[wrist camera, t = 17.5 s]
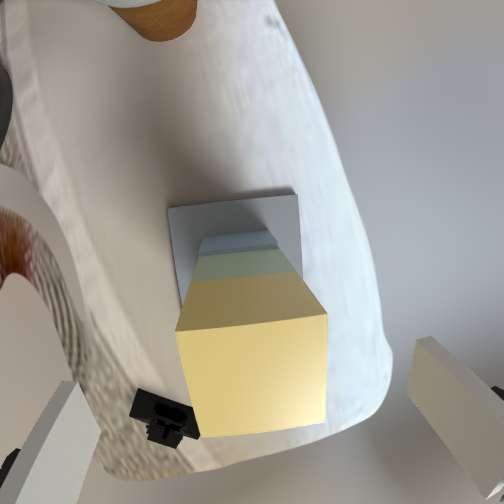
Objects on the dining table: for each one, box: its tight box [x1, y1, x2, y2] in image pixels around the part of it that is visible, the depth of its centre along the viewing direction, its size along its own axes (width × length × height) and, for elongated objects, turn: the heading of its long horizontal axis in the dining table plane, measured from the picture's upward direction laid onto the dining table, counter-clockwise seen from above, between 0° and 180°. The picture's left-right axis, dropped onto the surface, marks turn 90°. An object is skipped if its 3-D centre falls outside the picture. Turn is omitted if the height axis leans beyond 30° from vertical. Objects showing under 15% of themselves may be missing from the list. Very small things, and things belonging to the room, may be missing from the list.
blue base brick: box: [198, 230, 279, 257], centre depth 27 cm, size 6×6×6 cm
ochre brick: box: [175, 271, 328, 438], centre depth 16 cm, size 6×6×6 cm
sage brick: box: [190, 248, 296, 283], centre depth 22 cm, size 6×6×6 cm
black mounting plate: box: [129, 388, 201, 449], centre depth 33 cm, size 12×7×5 cm, turn 66°
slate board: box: [167, 194, 303, 307], centre depth 31 cm, size 12×12×1 cm
